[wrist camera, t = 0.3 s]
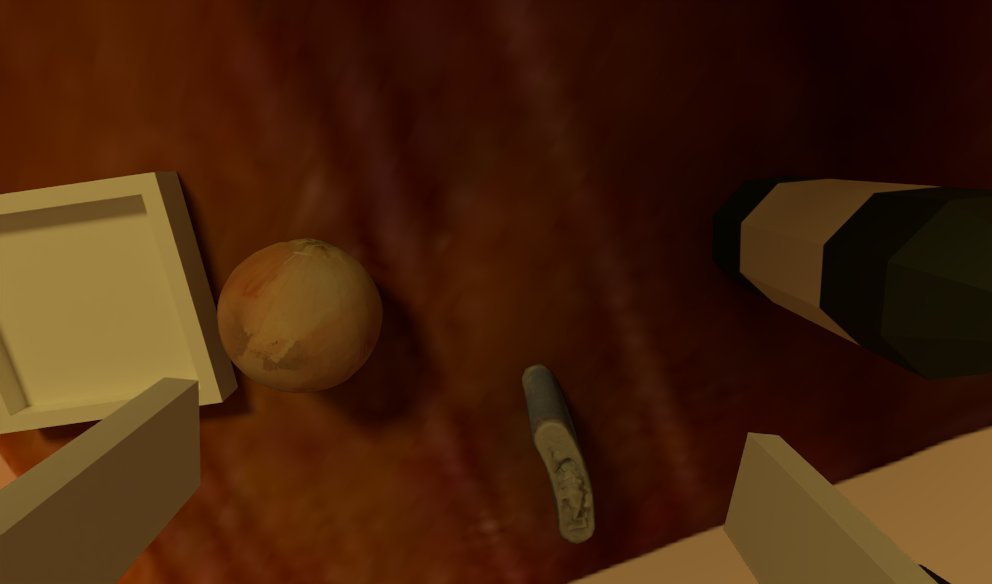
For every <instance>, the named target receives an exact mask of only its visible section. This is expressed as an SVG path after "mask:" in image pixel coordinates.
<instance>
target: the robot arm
mask: <svg viewBox="0 0 992 584" xmlns="http://www.w3.org/2000/svg"><path fill="white" fill-rule="evenodd" d="M199 486H200V430H199V380H190V379H179V378H169V377H164V378H162V379H161V380H160V381H158V382H157V383H155V384H154V385H152V386H151V387H149V388H148V389H146V390H145V391H144V392H142V393H141V394H139V395H138V396H136V397H135V398H133V399H132V400H130V401H129V402H128V403H126V404H125V405H123V406H122V407H120V408H119V409H117V410H116V411H115V412H113V413H112V414H110V415H109V416H107V417H106V418H104V419H103V420H101V421H100V422H99V423H97V424H96V425H94V426H93V427H91V428H90V429H88V430H87V431H85V432H84V433H83V434H81V435H80V436H78V437H77V438H75V439H74V440H72V441H71V442H69V443H68V444H67V445H65V446H64V447H62V448H61V449H59V450H58V451H56V452H55V453H53V454H52V455H51V456H49V457H48V458H46V459H45V460H43V461H42V462H40V463H39V464H37V465H36V466H35V467H33V468H32V469H30V470H29V471H27V472H26V473H24V474H23V475H21V476H20V477H19V478H17V479H16V480H14V481H13V482H11V483H10V484H9V485H7V486H5V487H4V488H3V489H1V490H0V584H116V583H117V582H118V580H119V579H120V578H121V577H122V576H123V575H124V573H125V572H126V571H127V570H128V569H129V568H130V566H131V565H132V564H133V563H134V562H135V561H136V560H137V558H138V557H139V556H140V555H141V554H142V553H143V551H144V550H145V549H146V548H147V547H148V546H149V544H150V543H151V542H152V541H153V540H154V539H155V537H156V536H157V535H158V534H159V533H160V532H161V530H162V529H163V528H164V527H165V526H166V525H167V523H168V522H169V521H170V520H171V519H172V518H173V517H174V515H175V514H176V513H177V512H178V511H179V510H180V508H181V507H182V506H183V505H184V504H185V503H186V501H187V500H188V499H189V498H190V497H191V496H192V494H193V493H194V492H195V491H196V490H197V489H198V487H199ZM724 531H725V532H726V534H727V535H728V537H729V538H730V540H731V541H732V543H733V544H734V546H735V547H736V549H737V550H738V552H739V553H740V555H741V557H742V558H743V559H744V561H745V563H746V564H747V566H748V567H749V569H750V570H751V572H752V573H753V575H754V576H755V578H756V579H757V581H758V582H759V584H950V583H949V582H947V581H946V580H944V579H942V578H941V577H939V576H938V575H936V574H935V573H933V572H932V571H930V570H929V569H927V568H926V567H924V566H922V565H918V564H917V563H915V562H914V561H913V560H912V559H911V558H910V557H909V556H908V555H907V554H906V553H905V552H904V551H903V550H901V549H900V548H899V547H898V546H897V545H896V544H895V543H894V542H893V541H892V540H891V539H889V538H888V537H887V536H886V535H885V534H884V533H883V532H882V531H881V530H880V529H879V528H878V527H877V526H876V525H875V524H873V523H872V522H871V521H870V520H869V519H868V518H867V517H866V516H865V515H864V514H863V513H861V512H860V511H859V510H858V509H857V508H856V507H855V506H854V505H853V504H852V503H851V502H850V501H849V500H848V499H847V498H845V497H844V496H843V495H842V494H841V493H840V492H839V491H838V490H837V489H836V488H835V487H834V486H832V485H831V484H830V483H829V482H828V481H827V480H826V479H825V478H824V477H823V476H822V475H821V474H820V473H818V472H817V471H816V470H815V469H814V468H813V467H812V466H811V465H810V464H809V463H808V462H807V461H806V460H804V459H803V458H802V457H801V456H800V455H799V454H798V453H797V452H796V451H795V450H794V449H793V448H792V447H790V446H789V445H788V444H787V443H786V442H785V441H784V440H783V439H782V438H781V437H780V436H779V435H769V434H759V433H748V436H747V440H746V443H745V447H744V451H743V455H742V459H741V463H740V467H739V471H738V475H737V479H736V483H735V487H734V491H733V495H732V499H731V502H730V506H729V510H728V514H727V518H726V522H725V526H724Z"/></svg>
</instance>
